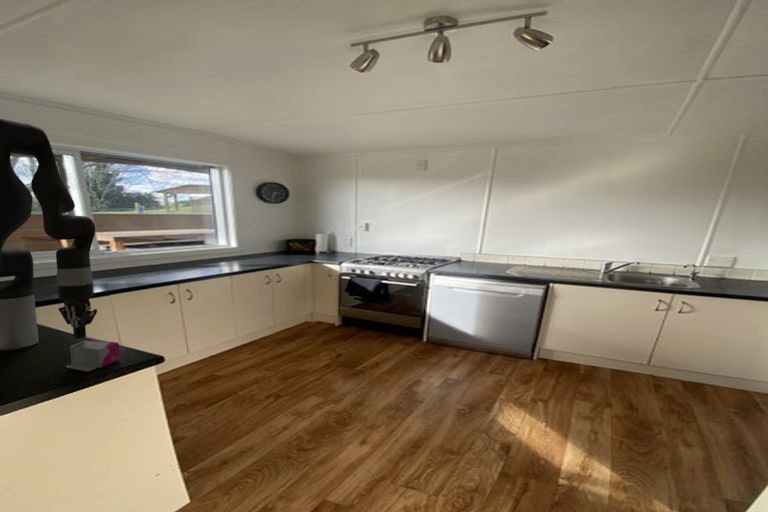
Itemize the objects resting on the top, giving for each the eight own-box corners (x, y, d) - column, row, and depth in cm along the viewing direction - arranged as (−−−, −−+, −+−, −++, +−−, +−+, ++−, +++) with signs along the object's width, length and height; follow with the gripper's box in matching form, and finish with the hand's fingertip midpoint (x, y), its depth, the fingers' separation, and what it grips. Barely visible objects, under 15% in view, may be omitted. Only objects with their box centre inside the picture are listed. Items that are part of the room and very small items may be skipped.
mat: (66, 367, 91) (65, 366, 90) (97, 356, 98) (97, 355, 98) (87, 371, 88) (87, 370, 88) (118, 359, 96) (118, 359, 96)
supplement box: (69, 364, 92) (100, 368, 90) (67, 345, 91) (98, 348, 89) (91, 356, 98) (120, 359, 95) (89, 338, 97) (119, 341, 95)
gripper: (43, 283, 90) (49, 340, 92) (75, 286, 86) (80, 345, 88) (75, 278, 97) (79, 331, 99) (105, 281, 94) (109, 336, 96)
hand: (80, 338), depth 94 cm, fingers closed
